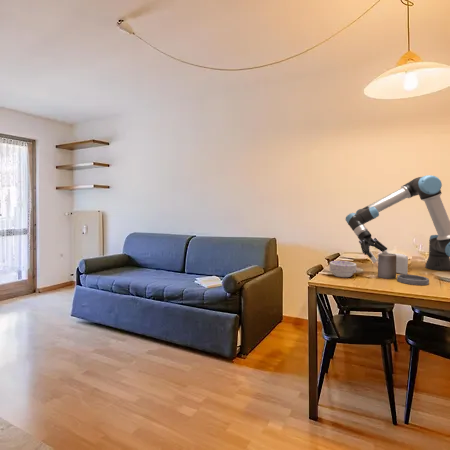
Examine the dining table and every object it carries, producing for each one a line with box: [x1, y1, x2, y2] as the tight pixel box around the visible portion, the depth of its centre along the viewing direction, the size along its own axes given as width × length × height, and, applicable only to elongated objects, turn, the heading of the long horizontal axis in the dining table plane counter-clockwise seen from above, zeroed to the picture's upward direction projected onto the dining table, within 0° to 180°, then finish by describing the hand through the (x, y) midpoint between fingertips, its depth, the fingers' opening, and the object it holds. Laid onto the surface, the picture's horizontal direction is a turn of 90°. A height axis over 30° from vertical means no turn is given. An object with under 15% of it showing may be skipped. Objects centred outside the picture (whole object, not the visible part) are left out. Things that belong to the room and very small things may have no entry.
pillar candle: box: [377, 252, 397, 280], centre depth 185 cm, size 10×10×15 cm
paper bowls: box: [329, 260, 357, 278], centre depth 188 cm, size 15×15×8 cm
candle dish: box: [396, 274, 430, 286], centre depth 174 cm, size 15×15×2 cm
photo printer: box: [395, 253, 409, 275], centre depth 196 cm, size 10×4×12 cm, turn 39°
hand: (383, 260), depth 186 cm, fingers open, 13 cm apart
